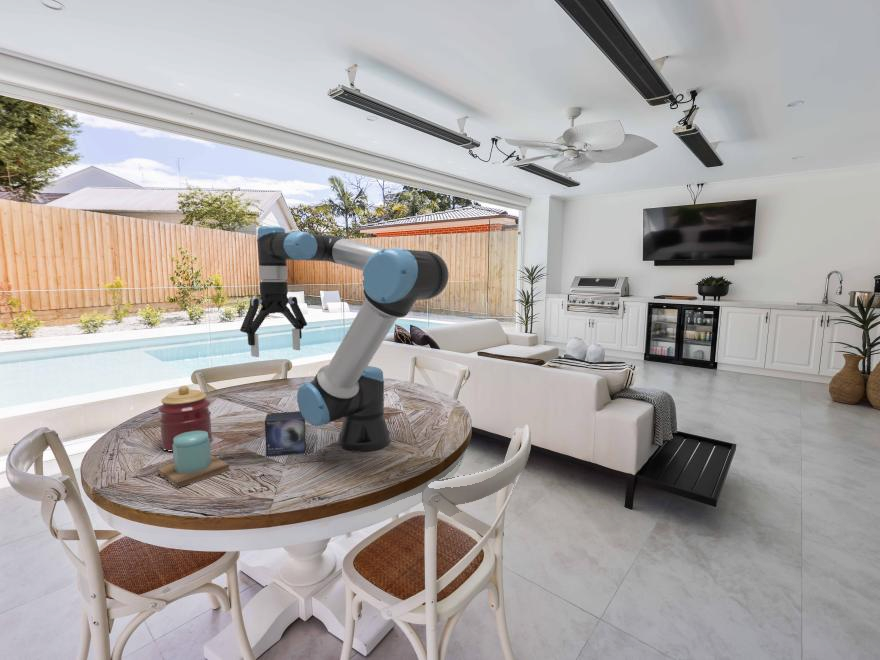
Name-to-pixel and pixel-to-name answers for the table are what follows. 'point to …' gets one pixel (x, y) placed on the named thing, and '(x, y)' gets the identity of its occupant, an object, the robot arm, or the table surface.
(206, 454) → the lidded container
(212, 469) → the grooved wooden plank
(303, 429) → the small box
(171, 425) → the canister
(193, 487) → the table surface
